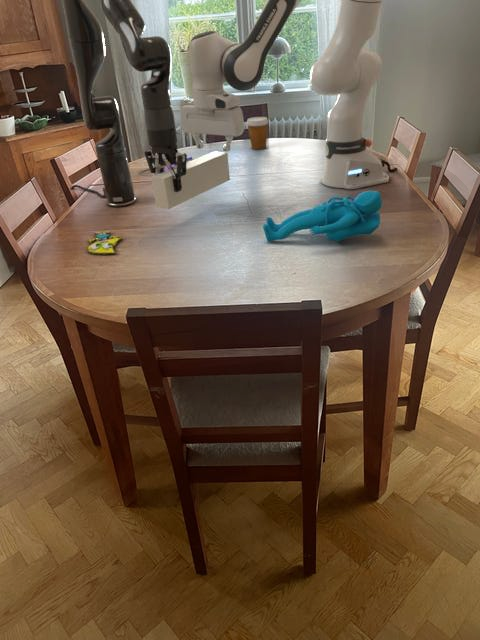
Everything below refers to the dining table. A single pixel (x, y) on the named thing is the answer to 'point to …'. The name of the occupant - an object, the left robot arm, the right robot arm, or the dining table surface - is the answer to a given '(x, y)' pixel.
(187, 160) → the musical instrument
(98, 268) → the dining table surface
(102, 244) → the toy
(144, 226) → the dining table surface
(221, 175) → the bar
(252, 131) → the disposable coffee cup
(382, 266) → the dining table surface
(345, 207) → the toy
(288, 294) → the dining table surface
